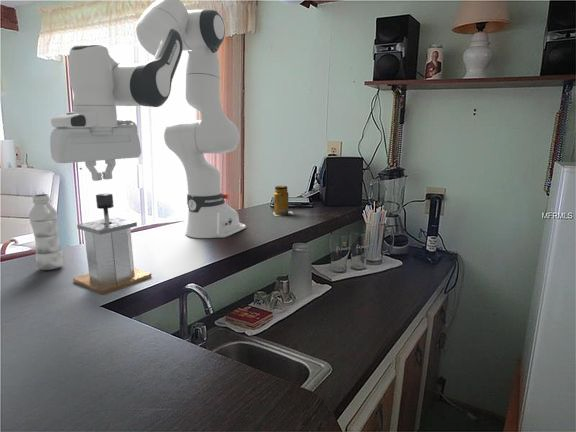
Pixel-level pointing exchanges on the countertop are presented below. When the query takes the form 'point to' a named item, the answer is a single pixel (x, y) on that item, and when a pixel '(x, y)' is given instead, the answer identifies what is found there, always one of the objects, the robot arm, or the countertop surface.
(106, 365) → the countertop surface
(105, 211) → the plunger
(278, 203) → the condiment
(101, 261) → the white box on plank
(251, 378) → the countertop surface
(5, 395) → the countertop surface
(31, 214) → the plastic bottle
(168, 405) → the countertop surface
